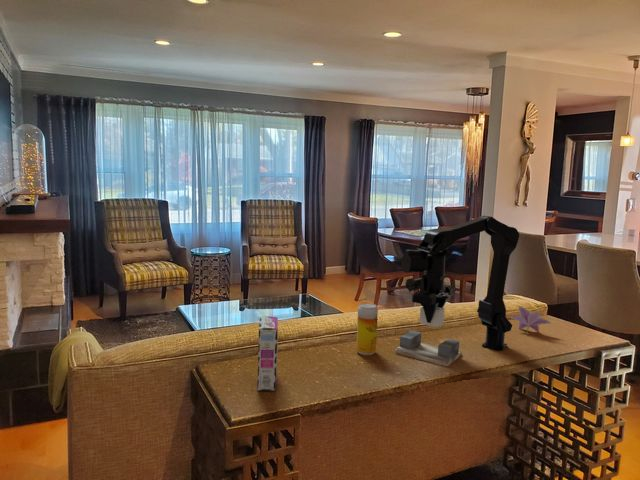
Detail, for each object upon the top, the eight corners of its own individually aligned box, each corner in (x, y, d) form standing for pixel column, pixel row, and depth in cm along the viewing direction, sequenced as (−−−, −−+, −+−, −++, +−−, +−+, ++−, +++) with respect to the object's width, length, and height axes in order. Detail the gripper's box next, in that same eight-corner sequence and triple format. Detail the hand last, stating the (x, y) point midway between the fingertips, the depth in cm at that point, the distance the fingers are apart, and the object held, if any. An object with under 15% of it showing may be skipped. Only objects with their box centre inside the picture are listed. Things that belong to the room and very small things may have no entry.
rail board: (412, 343, 166) (413, 328, 166) (461, 355, 157) (462, 339, 156) (395, 353, 157) (396, 338, 156) (446, 366, 147) (447, 350, 147)
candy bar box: (277, 391, 128) (278, 328, 125) (257, 391, 127) (257, 328, 125) (277, 373, 139) (277, 315, 136) (258, 374, 138) (259, 315, 136)
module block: (425, 320, 160) (426, 304, 159) (443, 324, 157) (444, 307, 156) (419, 323, 156) (420, 307, 156) (438, 327, 153) (438, 310, 152)
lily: (553, 340, 177) (554, 313, 180) (534, 332, 171) (535, 304, 174) (522, 341, 186) (523, 316, 190) (503, 333, 180) (504, 307, 184)
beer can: (374, 356, 153) (377, 308, 151) (355, 354, 155) (356, 307, 153) (376, 350, 159) (378, 303, 157) (357, 348, 161) (359, 302, 159)
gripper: (422, 263, 166) (420, 309, 168) (397, 272, 151) (394, 322, 153) (455, 268, 160) (452, 316, 162) (432, 277, 145) (429, 330, 147)
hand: (432, 320), depth 156 cm, fingers closed on module block, 4 cm apart
